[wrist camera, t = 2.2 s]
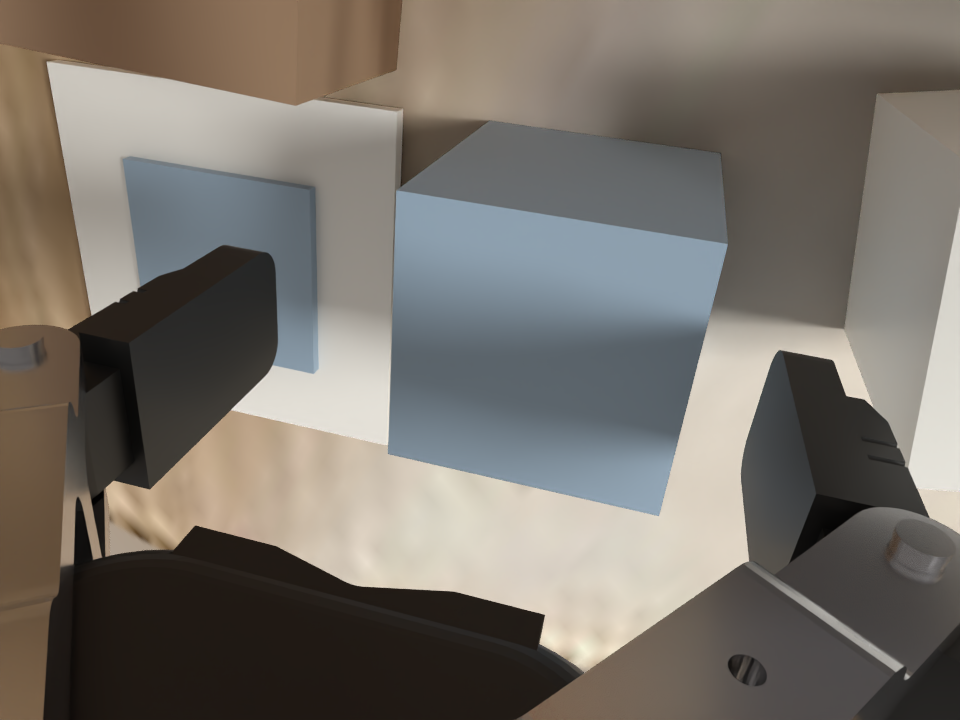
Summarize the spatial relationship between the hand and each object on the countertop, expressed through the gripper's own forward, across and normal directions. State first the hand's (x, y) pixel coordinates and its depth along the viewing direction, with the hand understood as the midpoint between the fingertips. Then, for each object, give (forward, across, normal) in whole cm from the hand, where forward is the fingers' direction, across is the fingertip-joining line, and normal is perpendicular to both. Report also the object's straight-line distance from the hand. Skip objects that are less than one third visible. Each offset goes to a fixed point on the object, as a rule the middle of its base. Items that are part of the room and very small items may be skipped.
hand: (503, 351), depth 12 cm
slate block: (+6, -1, 0) cm, 6 cm away
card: (+6, +8, +2) cm, 11 cm away
